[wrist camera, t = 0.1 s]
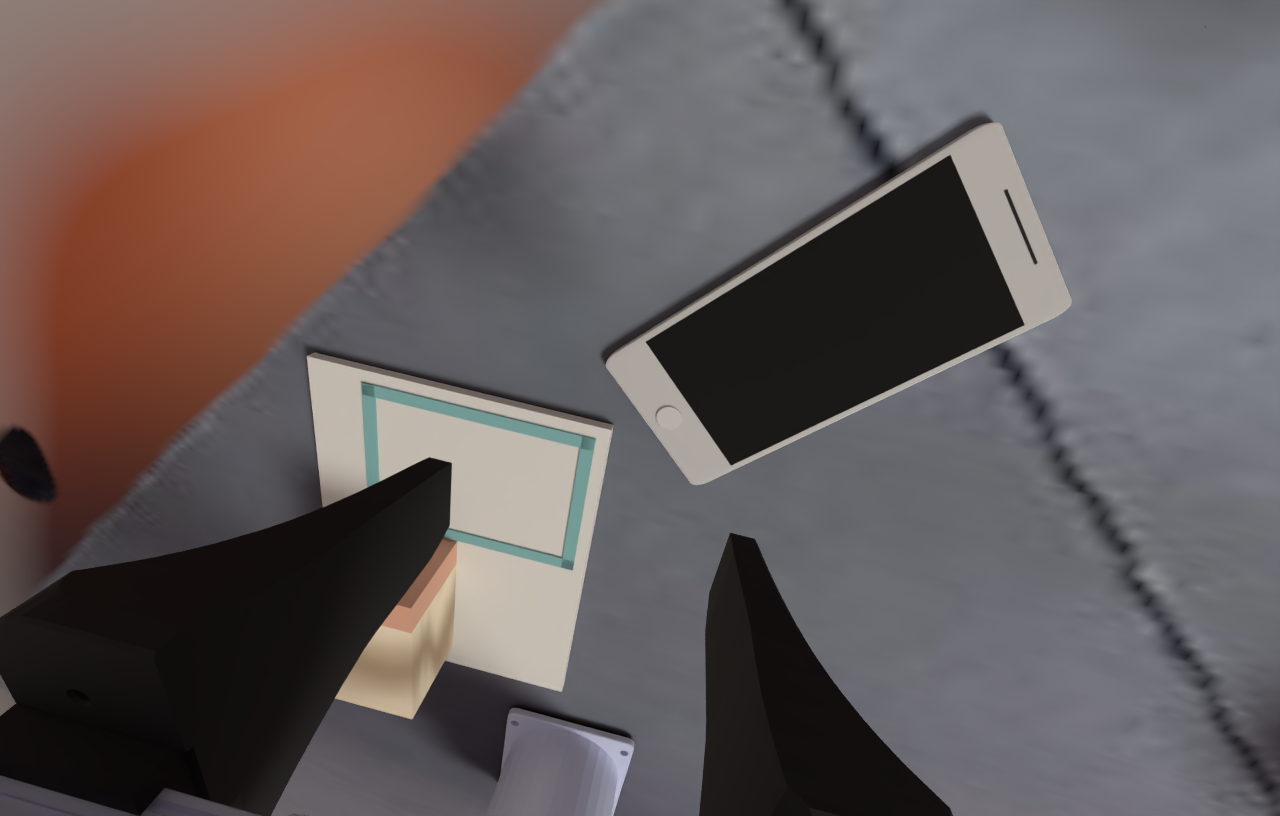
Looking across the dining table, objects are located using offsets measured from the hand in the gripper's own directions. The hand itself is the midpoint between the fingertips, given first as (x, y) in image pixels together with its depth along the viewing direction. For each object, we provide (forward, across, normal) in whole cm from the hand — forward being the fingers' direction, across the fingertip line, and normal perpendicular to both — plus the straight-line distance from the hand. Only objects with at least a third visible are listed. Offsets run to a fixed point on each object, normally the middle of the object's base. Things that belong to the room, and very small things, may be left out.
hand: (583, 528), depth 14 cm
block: (+10, +10, +15) cm, 20 cm away
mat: (+10, +8, +12) cm, 17 cm away
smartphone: (+11, -6, -3) cm, 13 cm away
